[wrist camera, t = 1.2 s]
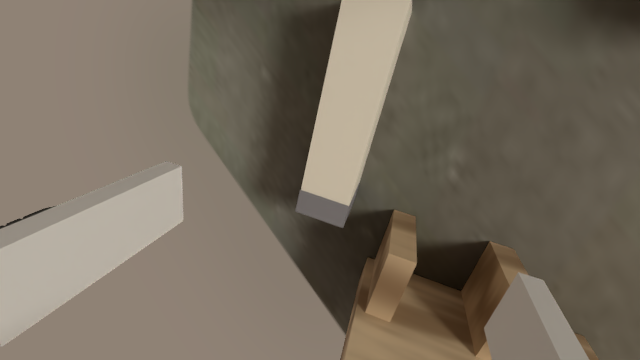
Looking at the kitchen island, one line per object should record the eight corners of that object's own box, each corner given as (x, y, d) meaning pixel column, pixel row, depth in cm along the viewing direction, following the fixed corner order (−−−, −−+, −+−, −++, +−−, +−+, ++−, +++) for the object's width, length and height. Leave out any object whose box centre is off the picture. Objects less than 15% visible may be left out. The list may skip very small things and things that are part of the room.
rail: (358, 0, 22) (344, -18, 17) (412, 11, 21) (412, -3, 17) (313, 188, 28) (295, 211, 24) (353, 201, 28) (342, 228, 23)
